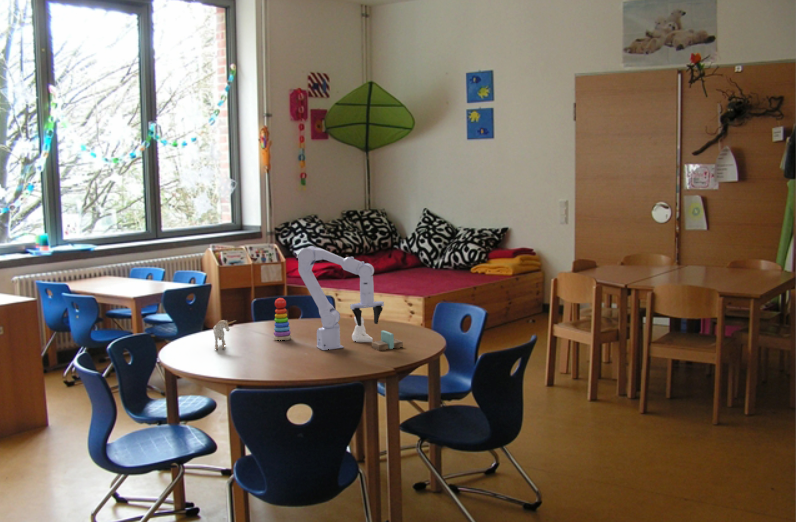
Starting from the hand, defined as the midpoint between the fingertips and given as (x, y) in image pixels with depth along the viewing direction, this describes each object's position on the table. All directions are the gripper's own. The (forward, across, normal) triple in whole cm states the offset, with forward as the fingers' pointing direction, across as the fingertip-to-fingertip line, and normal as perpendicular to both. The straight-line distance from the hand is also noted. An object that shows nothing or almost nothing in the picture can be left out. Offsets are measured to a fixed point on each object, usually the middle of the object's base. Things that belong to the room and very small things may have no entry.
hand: (367, 324), depth 317 cm
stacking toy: (+10, -26, +36) cm, 46 cm away
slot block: (+10, +7, -4) cm, 13 cm away
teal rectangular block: (+9, +7, -4) cm, 12 cm away
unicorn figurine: (+10, -52, +32) cm, 62 cm away
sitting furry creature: (+10, +3, +14) cm, 18 cm away
